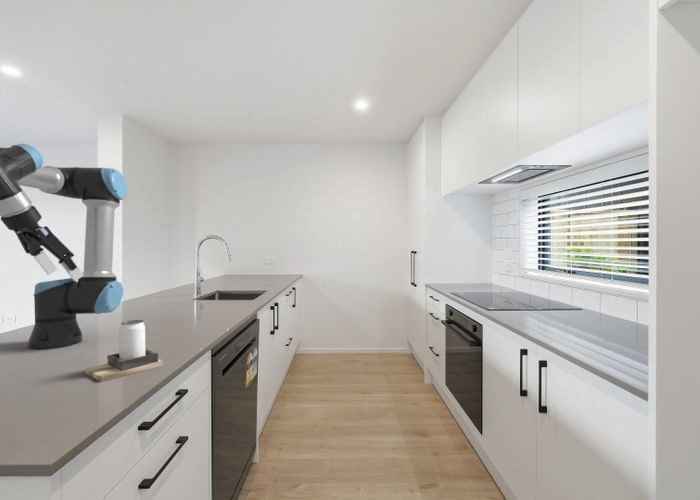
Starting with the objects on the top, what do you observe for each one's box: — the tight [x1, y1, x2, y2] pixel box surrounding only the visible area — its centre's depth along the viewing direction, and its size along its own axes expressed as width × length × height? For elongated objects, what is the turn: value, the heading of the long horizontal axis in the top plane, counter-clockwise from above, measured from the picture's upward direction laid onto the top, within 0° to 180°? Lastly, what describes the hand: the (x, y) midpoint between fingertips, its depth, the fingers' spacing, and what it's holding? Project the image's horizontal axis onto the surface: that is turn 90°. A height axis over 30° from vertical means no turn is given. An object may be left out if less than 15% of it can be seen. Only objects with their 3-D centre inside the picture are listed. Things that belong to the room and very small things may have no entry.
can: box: [118, 319, 146, 361], centre depth 104 cm, size 6×6×12 cm
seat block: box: [84, 348, 164, 383], centre depth 103 cm, size 11×16×4 cm
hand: (65, 275), depth 105 cm, fingers open, 13 cm apart
